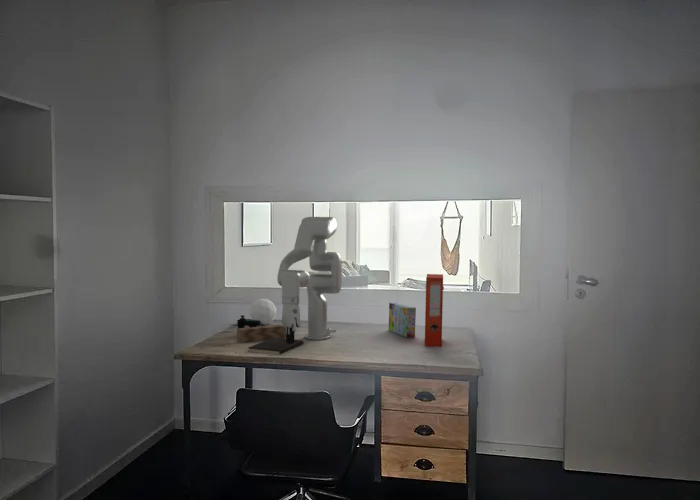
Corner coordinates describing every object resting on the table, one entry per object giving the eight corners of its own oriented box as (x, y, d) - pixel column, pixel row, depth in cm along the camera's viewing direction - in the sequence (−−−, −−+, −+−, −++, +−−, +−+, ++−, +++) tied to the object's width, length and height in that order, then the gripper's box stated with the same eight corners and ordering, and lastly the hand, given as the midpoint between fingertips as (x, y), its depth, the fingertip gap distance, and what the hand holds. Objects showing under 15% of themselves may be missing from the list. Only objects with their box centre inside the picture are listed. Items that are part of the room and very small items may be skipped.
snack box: (416, 337, 292) (416, 307, 291) (406, 338, 290) (406, 307, 289) (397, 329, 312) (397, 301, 311) (387, 330, 310) (388, 301, 309)
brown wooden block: (283, 336, 292) (283, 324, 291) (286, 338, 288) (286, 325, 288) (237, 341, 280) (237, 328, 280) (239, 342, 277) (239, 330, 277)
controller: (239, 334, 297) (239, 314, 296) (262, 335, 294) (262, 315, 293) (235, 335, 292) (235, 316, 292) (258, 337, 289) (258, 317, 289)
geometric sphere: (269, 333, 323) (277, 314, 316) (243, 324, 321) (251, 305, 313) (274, 317, 335) (282, 298, 328) (249, 308, 333) (257, 289, 325)
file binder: (442, 339, 288) (443, 274, 286) (442, 346, 271) (443, 278, 269) (425, 338, 289) (426, 274, 287) (424, 346, 272) (425, 277, 270)
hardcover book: (247, 352, 260) (247, 347, 259) (273, 342, 281) (273, 337, 281) (279, 356, 254) (279, 350, 253) (303, 345, 275) (303, 340, 275)
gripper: (305, 302, 246) (305, 345, 246) (292, 298, 259) (291, 339, 259) (288, 303, 242) (288, 347, 243) (276, 299, 255) (275, 340, 256)
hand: (290, 343), depth 251 cm, fingers closed
